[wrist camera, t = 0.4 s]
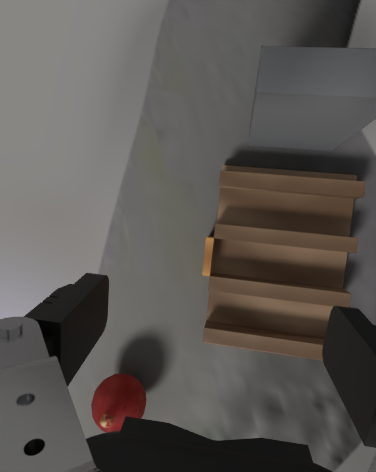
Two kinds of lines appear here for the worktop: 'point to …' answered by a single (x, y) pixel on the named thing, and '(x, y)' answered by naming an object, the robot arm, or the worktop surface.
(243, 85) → the worktop surface
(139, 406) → the onion
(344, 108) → the panel
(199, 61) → the worktop surface
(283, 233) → the rack
